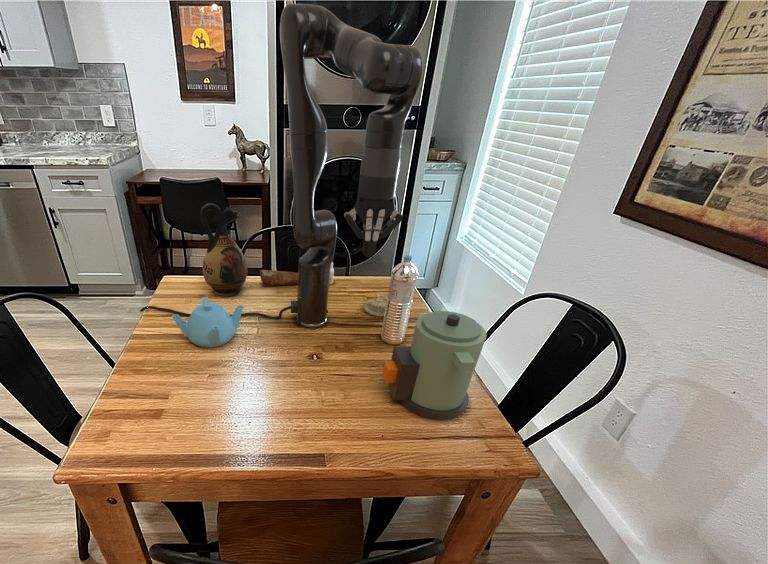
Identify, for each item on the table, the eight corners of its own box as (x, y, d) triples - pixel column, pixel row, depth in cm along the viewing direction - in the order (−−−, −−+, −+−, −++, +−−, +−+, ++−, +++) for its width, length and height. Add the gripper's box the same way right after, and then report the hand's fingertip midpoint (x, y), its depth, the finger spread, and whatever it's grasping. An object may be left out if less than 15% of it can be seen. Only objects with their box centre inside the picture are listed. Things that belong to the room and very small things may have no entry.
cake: (398, 309, 130) (402, 295, 127) (385, 321, 123) (389, 306, 120) (371, 299, 134) (374, 285, 131) (358, 310, 128) (361, 295, 124)
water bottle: (404, 346, 110) (422, 262, 95) (380, 344, 111) (394, 260, 97) (403, 334, 115) (420, 253, 101) (380, 332, 116) (394, 251, 102)
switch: (385, 382, 87) (388, 370, 85) (382, 373, 90) (384, 360, 88) (396, 382, 87) (399, 370, 85) (392, 373, 90) (395, 360, 88)
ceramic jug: (243, 280, 147) (239, 197, 130) (252, 297, 135) (248, 208, 118) (198, 284, 143) (187, 199, 126) (203, 302, 131) (191, 211, 114)
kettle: (400, 428, 83) (421, 344, 71) (378, 367, 102) (391, 291, 89) (482, 428, 83) (517, 344, 71) (445, 367, 102) (468, 292, 90)
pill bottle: (334, 281, 148) (335, 261, 143) (331, 285, 144) (333, 265, 140) (323, 279, 149) (324, 260, 144) (320, 283, 145) (321, 264, 141)
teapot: (248, 331, 116) (246, 299, 110) (219, 356, 105) (215, 321, 99) (206, 320, 121) (202, 288, 115) (175, 342, 110) (168, 308, 104)
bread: (259, 281, 146) (259, 267, 143) (309, 280, 148) (310, 266, 145) (260, 288, 141) (259, 274, 138) (311, 287, 143) (312, 272, 139)
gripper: (406, 169, 81) (392, 250, 90) (343, 169, 80) (336, 250, 90) (417, 176, 74) (401, 262, 84) (349, 175, 74) (341, 262, 84)
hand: (367, 256), depth 87 cm, fingers closed
